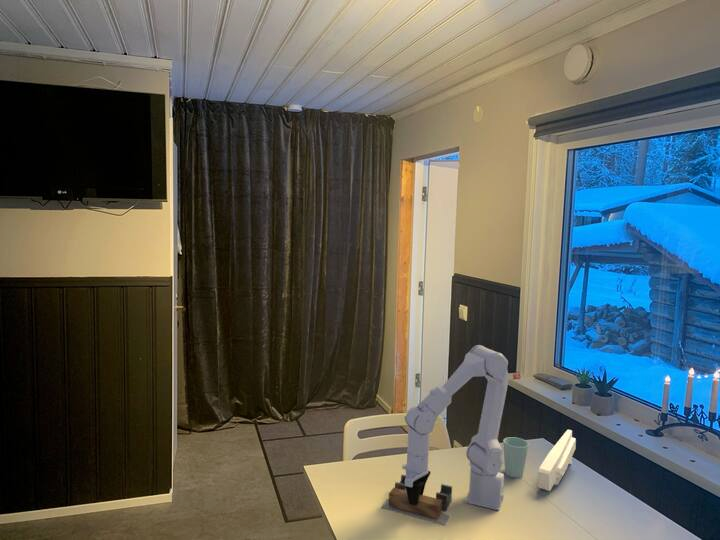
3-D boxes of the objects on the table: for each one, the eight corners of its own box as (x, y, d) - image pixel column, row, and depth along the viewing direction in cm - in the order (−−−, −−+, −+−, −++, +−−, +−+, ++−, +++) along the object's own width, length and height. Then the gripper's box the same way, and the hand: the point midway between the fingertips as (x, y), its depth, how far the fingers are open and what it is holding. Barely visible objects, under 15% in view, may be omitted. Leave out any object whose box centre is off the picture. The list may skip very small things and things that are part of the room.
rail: (441, 512, 145) (442, 500, 145) (438, 518, 142) (438, 506, 142) (392, 499, 151) (393, 487, 151) (388, 505, 148) (389, 493, 147)
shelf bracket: (578, 465, 178) (578, 432, 175) (553, 511, 159) (553, 474, 156) (561, 461, 182) (561, 427, 178) (534, 504, 163) (534, 468, 160)
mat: (449, 515, 145) (449, 514, 145) (445, 525, 141) (445, 524, 141) (387, 499, 153) (387, 498, 153) (380, 508, 148) (381, 507, 148)
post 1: (411, 491, 158) (411, 476, 157) (404, 501, 152) (405, 485, 152) (401, 489, 159) (402, 474, 158) (394, 498, 153) (394, 483, 153)
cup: (521, 467, 175) (523, 437, 174) (530, 479, 167) (532, 447, 166) (498, 467, 175) (500, 436, 174) (506, 479, 167) (508, 447, 166)
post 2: (451, 501, 153) (452, 486, 152) (445, 511, 147) (446, 496, 147) (441, 498, 154) (441, 483, 154) (435, 509, 149) (436, 493, 148)
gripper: (412, 439, 153) (410, 485, 155) (394, 459, 140) (392, 509, 141) (436, 444, 150) (434, 491, 152) (420, 465, 137) (418, 516, 139)
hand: (415, 500), depth 146 cm, fingers closed on rail, 3 cm apart
